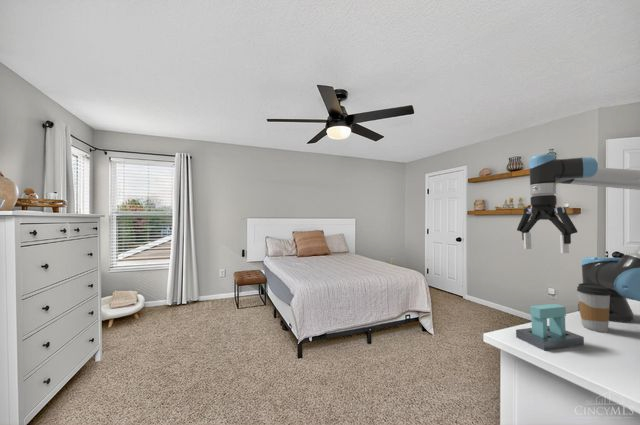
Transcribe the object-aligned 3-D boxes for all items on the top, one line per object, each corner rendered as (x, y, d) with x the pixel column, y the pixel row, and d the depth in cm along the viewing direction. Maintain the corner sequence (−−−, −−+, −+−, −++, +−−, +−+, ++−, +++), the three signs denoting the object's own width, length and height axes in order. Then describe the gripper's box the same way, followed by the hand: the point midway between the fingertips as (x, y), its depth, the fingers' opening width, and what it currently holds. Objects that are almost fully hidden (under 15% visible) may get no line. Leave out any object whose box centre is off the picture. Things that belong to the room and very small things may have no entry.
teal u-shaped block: (555, 337, 86) (554, 303, 87) (567, 342, 83) (566, 307, 83) (530, 340, 84) (529, 305, 85) (541, 345, 81) (540, 309, 81)
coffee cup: (620, 334, 87) (618, 289, 88) (590, 332, 89) (588, 288, 89) (598, 324, 96) (597, 283, 96) (572, 323, 97) (570, 282, 98)
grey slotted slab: (553, 332, 89) (552, 325, 90) (584, 345, 81) (583, 337, 81) (516, 337, 87) (516, 329, 87) (544, 350, 78) (543, 342, 78)
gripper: (505, 198, 112) (507, 247, 111) (572, 191, 88) (574, 255, 87) (520, 198, 113) (522, 247, 113) (589, 191, 89) (592, 254, 88)
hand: (545, 250), depth 100 cm, fingers open, 13 cm apart
